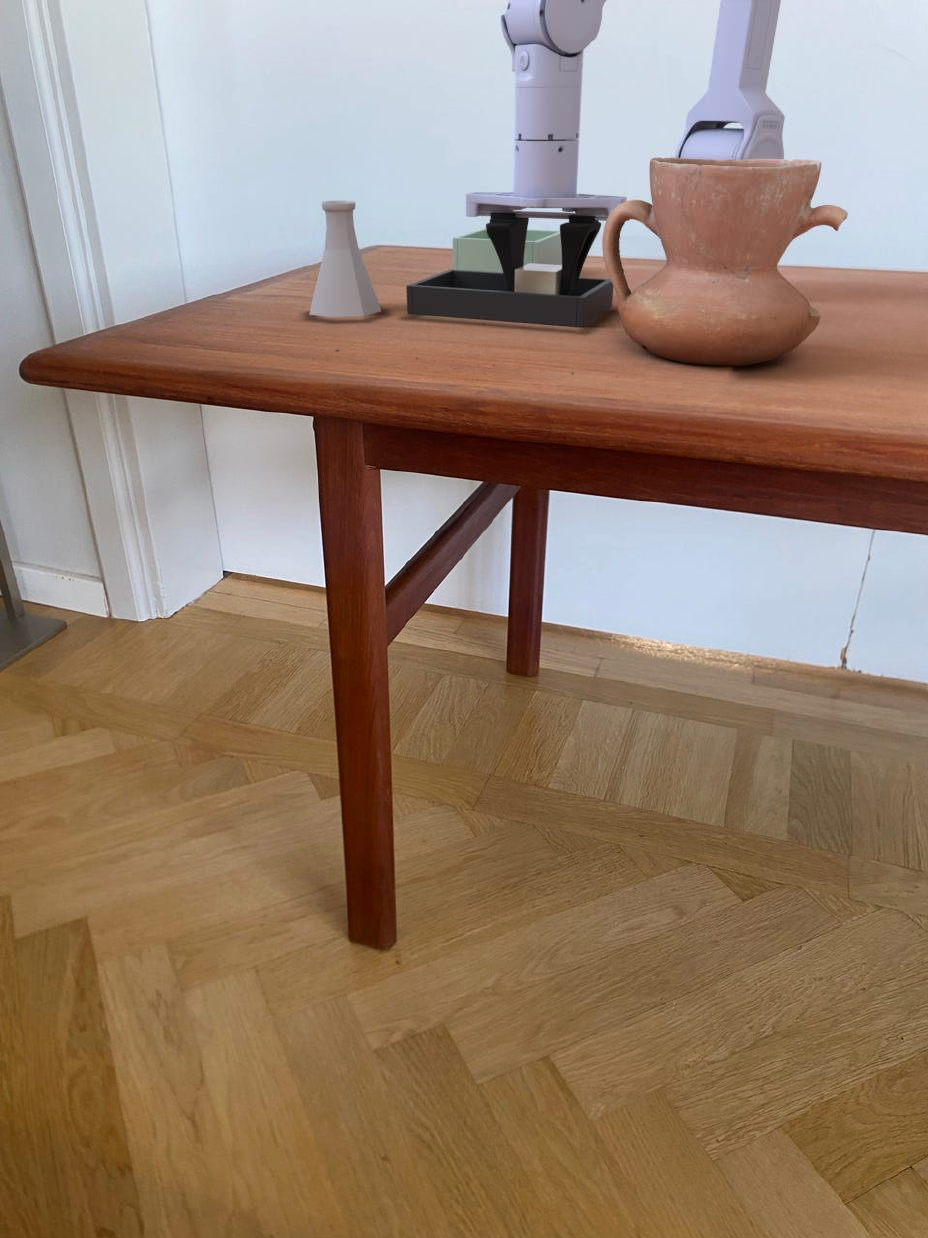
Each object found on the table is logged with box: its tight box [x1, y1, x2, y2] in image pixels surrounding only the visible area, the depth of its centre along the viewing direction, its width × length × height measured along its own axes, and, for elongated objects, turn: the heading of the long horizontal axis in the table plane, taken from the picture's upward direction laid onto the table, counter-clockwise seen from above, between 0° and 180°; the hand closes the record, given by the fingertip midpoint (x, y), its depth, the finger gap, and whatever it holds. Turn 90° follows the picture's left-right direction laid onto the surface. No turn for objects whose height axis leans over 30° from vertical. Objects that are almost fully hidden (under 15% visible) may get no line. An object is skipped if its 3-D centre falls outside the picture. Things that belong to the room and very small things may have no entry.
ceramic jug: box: [601, 156, 849, 367], centre depth 71 cm, size 18×14×14 cm
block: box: [514, 263, 562, 295], centre depth 87 cm, size 4×4×4 cm
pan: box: [405, 268, 614, 329], centre depth 88 cm, size 17×10×3 cm, turn 67°
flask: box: [309, 200, 382, 318], centre depth 87 cm, size 7×7×10 cm
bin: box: [452, 227, 562, 273], centre depth 108 cm, size 10×10×4 cm
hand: (541, 301), depth 87 cm, fingers open, 4 cm apart
